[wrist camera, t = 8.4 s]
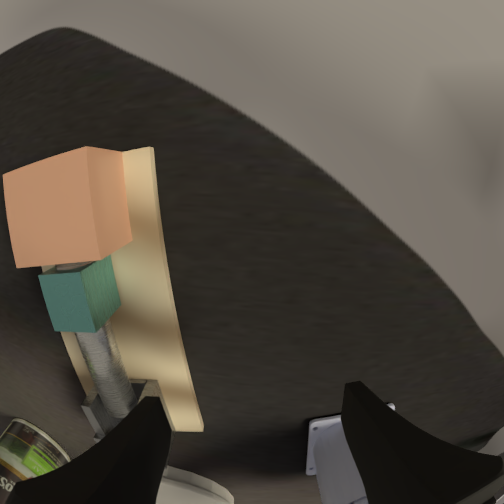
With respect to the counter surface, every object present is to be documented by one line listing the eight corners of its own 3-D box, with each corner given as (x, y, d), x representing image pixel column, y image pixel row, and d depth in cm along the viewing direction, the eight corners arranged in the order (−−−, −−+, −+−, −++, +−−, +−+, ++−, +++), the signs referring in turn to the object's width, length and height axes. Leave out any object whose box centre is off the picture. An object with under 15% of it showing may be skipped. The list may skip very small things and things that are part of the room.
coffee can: (30, 413, 23) (-23, 490, 9) (86, 468, 25) (53, 546, 11) (1, 419, 24) (-42, 479, 10) (49, 467, 26) (17, 529, 12)
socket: (132, 240, 17) (100, 260, 13) (55, 250, 17) (16, 268, 13) (122, 151, 16) (86, 146, 11) (44, 172, 16) (2, 174, 12)
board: (203, 425, 22) (202, 431, 21) (103, 417, 22) (101, 423, 21) (153, 147, 17) (149, 146, 16) (34, 177, 17) (27, 177, 16)
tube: (148, 392, 20) (134, 426, 16) (112, 389, 20) (95, 421, 16) (100, 189, 16) (66, 194, 12) (61, 198, 16) (25, 205, 12)
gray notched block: (175, 430, 21) (166, 469, 17) (122, 426, 21) (108, 460, 17) (157, 379, 20) (141, 419, 15) (99, 376, 20) (77, 410, 15)
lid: (172, 433, 23) (166, 456, 20) (260, 510, 27) (261, 527, 24) (65, 445, 24) (56, 461, 21) (158, 518, 29) (155, 532, 26)
